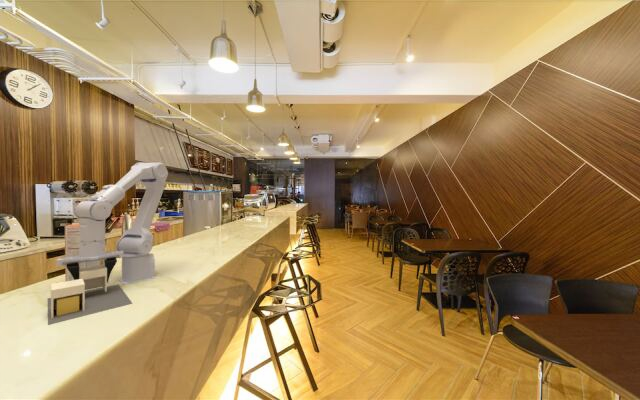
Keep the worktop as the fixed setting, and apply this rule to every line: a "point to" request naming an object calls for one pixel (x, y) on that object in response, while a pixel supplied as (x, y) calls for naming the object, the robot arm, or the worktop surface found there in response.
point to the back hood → (94, 276)
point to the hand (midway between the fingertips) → (92, 285)
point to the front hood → (67, 292)
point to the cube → (67, 304)
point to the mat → (94, 303)
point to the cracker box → (75, 249)
